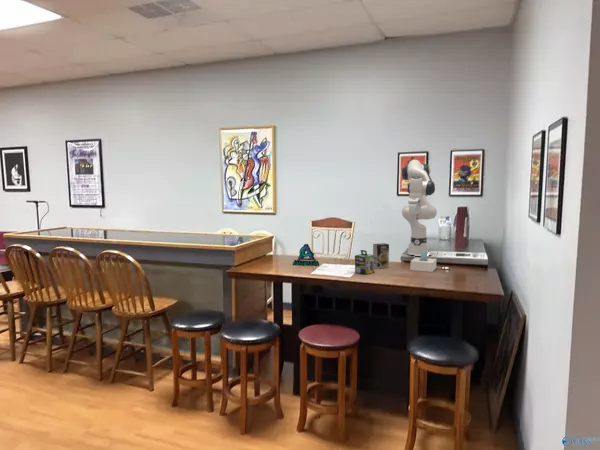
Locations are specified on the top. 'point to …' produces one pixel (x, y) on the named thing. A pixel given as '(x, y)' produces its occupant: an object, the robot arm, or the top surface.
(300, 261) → the decorative sign
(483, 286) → the top surface
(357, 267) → the chalk box
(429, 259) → the hole block
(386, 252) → the coffee box
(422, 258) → the pin
